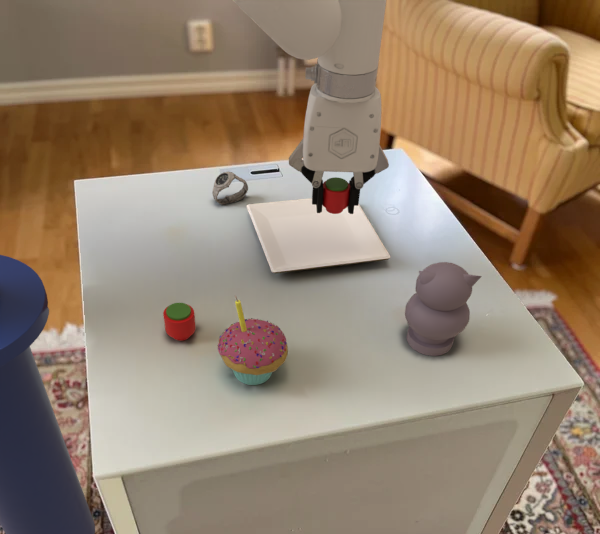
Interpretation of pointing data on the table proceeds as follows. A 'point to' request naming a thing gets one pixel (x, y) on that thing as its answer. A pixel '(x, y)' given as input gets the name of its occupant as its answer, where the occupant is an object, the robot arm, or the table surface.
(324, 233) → the plate
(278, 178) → the table surface
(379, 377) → the table surface
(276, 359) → the cupcake
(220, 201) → the wristwatch
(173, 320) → the green-lidded red jar
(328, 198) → the red cylinder green top
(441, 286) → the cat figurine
